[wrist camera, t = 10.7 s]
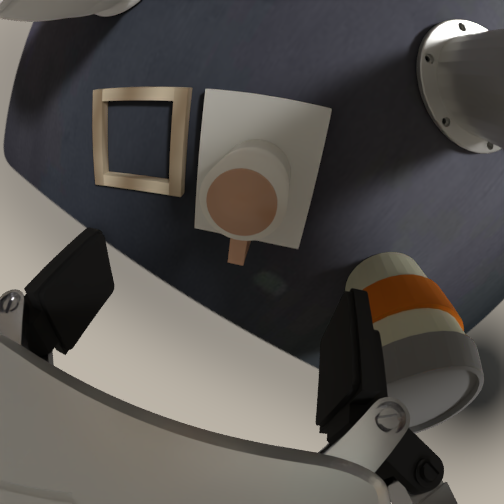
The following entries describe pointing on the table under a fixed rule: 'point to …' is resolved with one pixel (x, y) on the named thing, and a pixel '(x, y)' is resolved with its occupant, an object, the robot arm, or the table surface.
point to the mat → (272, 130)
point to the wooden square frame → (177, 145)
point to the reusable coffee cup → (419, 340)
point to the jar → (61, 9)
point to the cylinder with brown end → (246, 194)
